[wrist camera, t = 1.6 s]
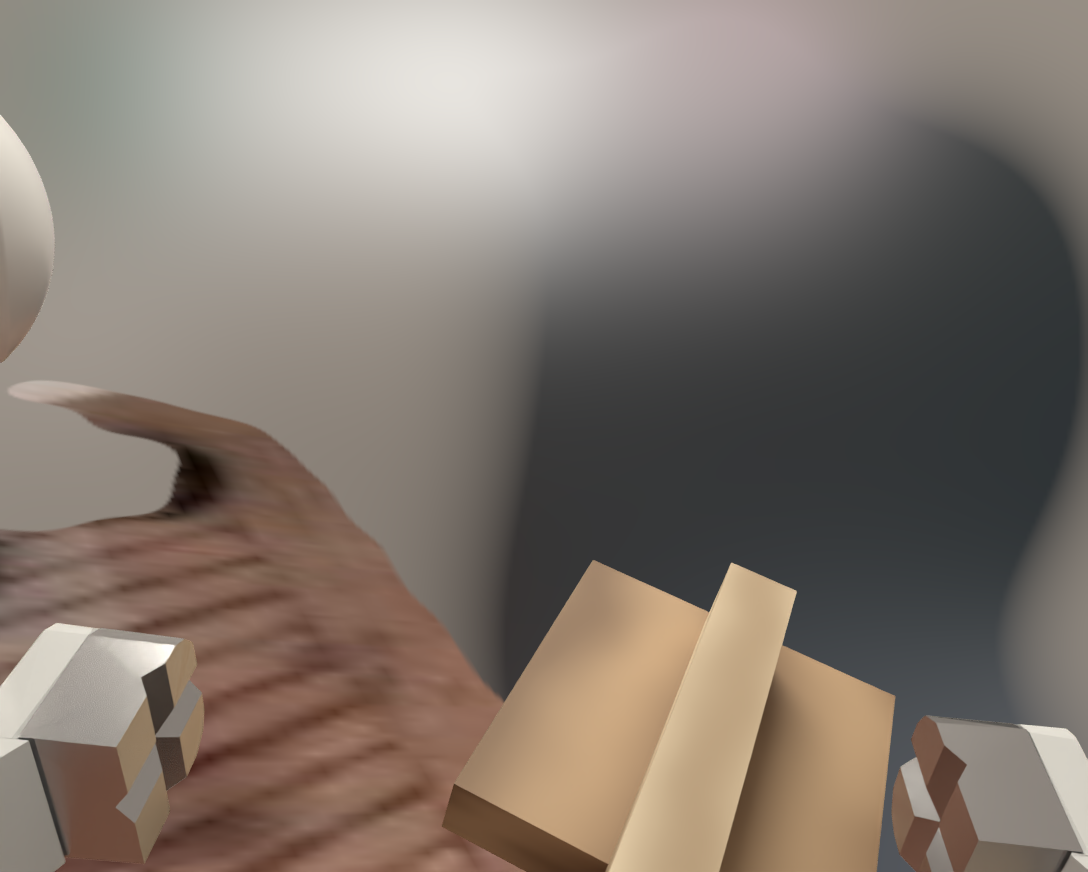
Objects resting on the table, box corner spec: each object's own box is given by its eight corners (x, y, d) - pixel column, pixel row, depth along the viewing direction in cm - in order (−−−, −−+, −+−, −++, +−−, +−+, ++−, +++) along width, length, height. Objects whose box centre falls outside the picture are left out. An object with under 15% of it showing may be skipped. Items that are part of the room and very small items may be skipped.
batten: (484, 1173, 20) (518, 1102, 18) (702, 628, 35) (731, 562, 34) (591, 1238, 19) (636, 1171, 17) (764, 655, 35) (796, 591, 33)
